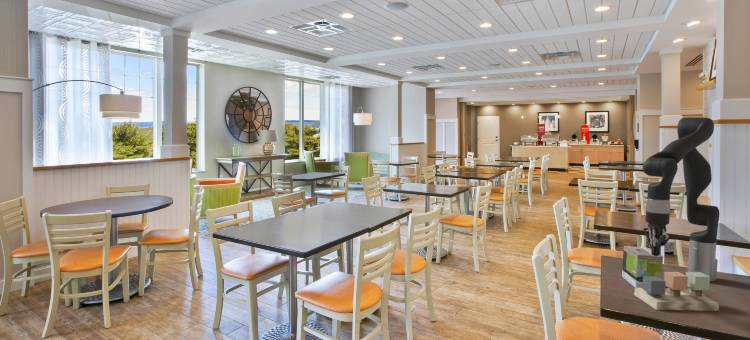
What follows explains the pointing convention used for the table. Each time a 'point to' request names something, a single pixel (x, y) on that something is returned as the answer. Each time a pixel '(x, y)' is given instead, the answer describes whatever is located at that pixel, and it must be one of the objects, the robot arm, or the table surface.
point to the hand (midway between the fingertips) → (655, 255)
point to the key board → (678, 300)
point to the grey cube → (654, 285)
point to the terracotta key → (676, 280)
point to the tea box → (640, 265)
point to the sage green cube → (698, 281)
